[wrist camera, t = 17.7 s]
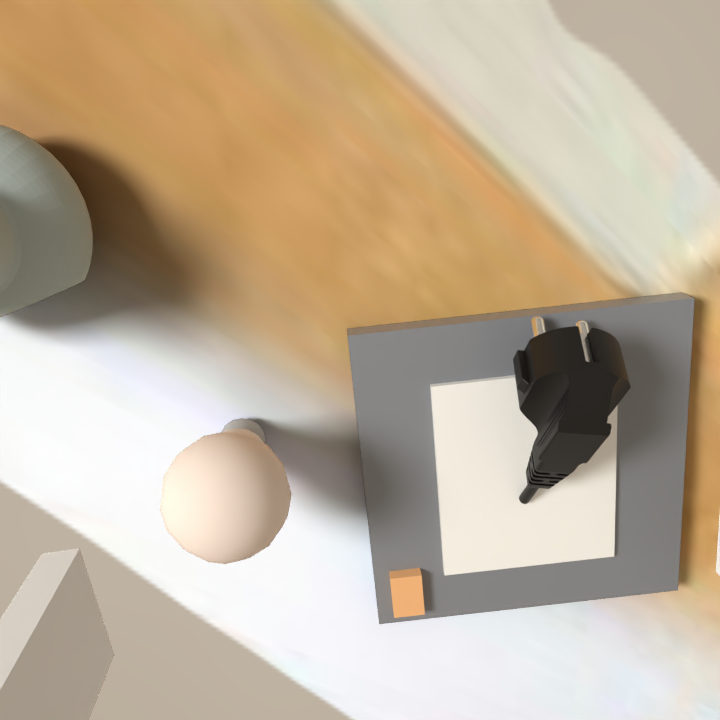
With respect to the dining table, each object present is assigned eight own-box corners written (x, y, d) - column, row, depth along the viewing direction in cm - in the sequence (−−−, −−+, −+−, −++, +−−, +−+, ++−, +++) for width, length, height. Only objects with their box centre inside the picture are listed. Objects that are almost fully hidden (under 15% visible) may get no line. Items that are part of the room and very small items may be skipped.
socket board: (346, 328, 40) (348, 339, 38) (681, 292, 40) (701, 301, 38) (377, 609, 47) (380, 632, 44) (667, 576, 47) (683, 597, 45)
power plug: (480, 508, 41) (544, 402, 32) (471, 402, 46) (524, 281, 36) (570, 514, 42) (661, 411, 32) (552, 409, 46) (627, 291, 36)
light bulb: (239, 362, 41) (208, 440, 30) (320, 431, 42) (316, 528, 32) (168, 436, 42) (114, 535, 31) (249, 500, 44) (223, 615, 33)
